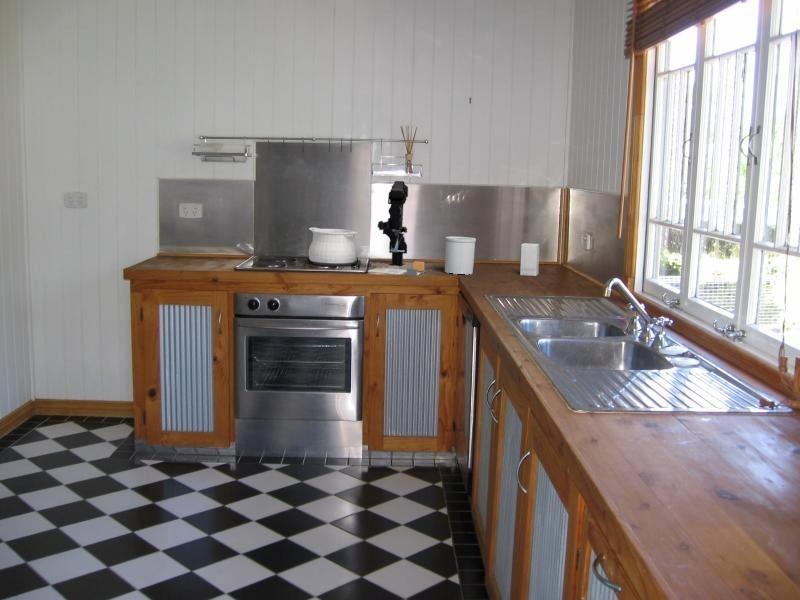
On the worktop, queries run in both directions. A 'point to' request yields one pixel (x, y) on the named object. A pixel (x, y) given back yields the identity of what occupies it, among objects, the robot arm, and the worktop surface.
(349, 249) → the pot
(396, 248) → the marker
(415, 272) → the switch base
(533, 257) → the skincare box
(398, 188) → the robot arm
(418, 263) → the orange cube
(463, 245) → the utensil holder
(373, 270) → the sheet
